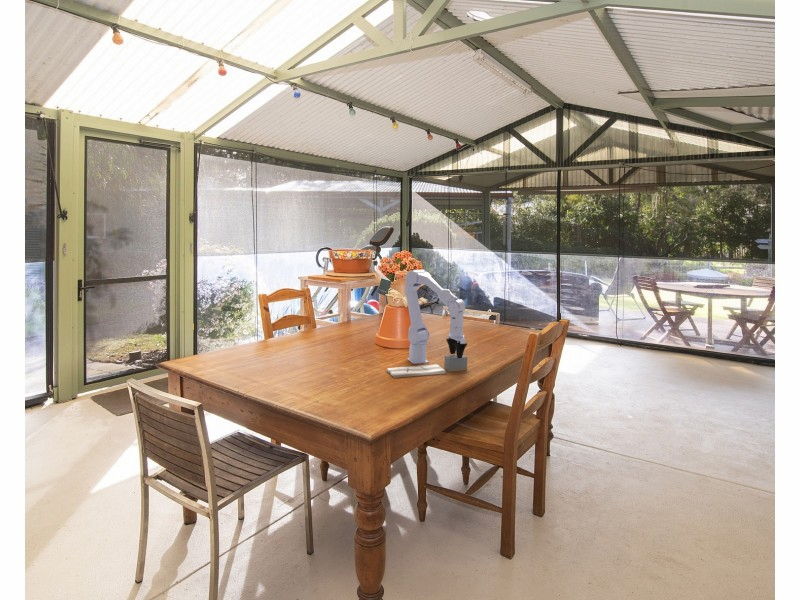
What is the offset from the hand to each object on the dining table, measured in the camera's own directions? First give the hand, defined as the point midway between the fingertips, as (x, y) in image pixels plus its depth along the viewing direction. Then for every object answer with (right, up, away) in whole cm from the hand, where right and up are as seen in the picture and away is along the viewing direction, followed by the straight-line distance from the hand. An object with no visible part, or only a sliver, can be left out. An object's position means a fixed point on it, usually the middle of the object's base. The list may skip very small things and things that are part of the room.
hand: (456, 355), depth 223 cm
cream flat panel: (-18, -7, -5) cm, 20 cm away
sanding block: (0, -6, +1) cm, 6 cm away
